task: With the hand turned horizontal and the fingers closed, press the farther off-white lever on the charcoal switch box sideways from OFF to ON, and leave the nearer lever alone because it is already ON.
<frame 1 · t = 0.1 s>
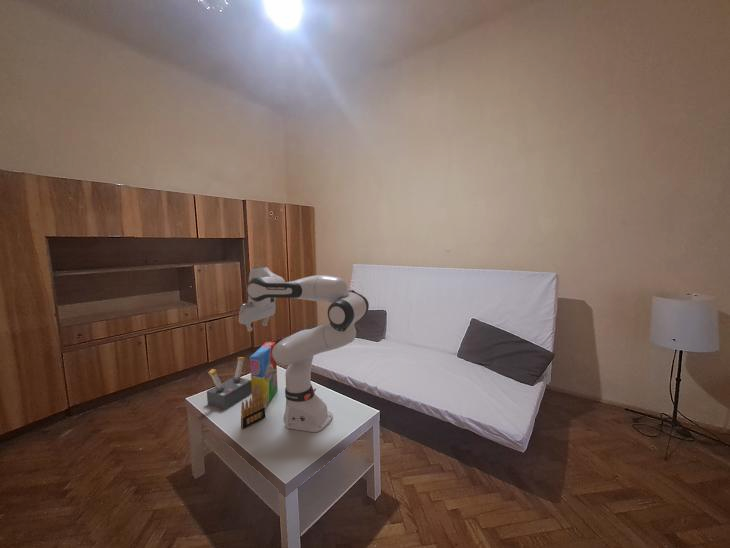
hand: (257, 328, 136), 39 cm above the table, tool pointing down, fingers open, 8 cm apart
lever 1: (216, 380, 139), point 13 cm above the table, hinge at 20.0°
lever 2: (238, 369, 151), point 13 cm above the table, hinge at -20.0°
ammunition clip: (253, 422, 127), on the table
switch box: (230, 398, 147), on the table
game box: (266, 400, 145), on the table
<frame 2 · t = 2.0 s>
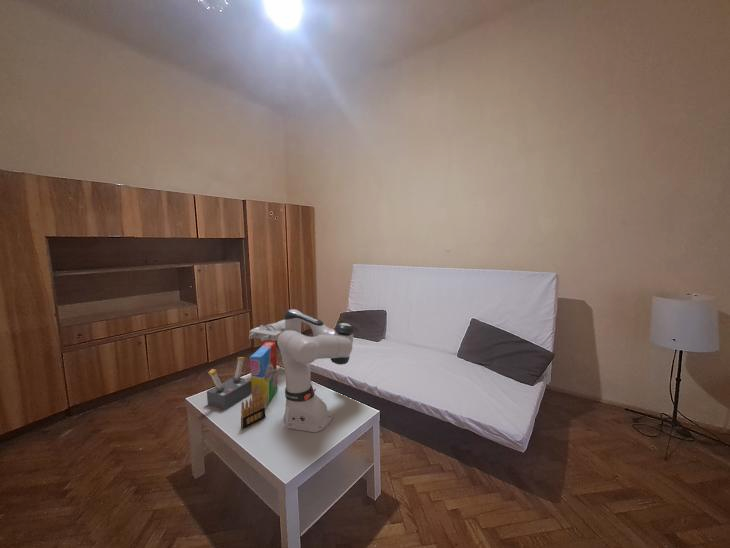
hand: (255, 338, 160), 26 cm above the table, tool horizontal, fingers open, 7 cm apart
nothing on the table moved.
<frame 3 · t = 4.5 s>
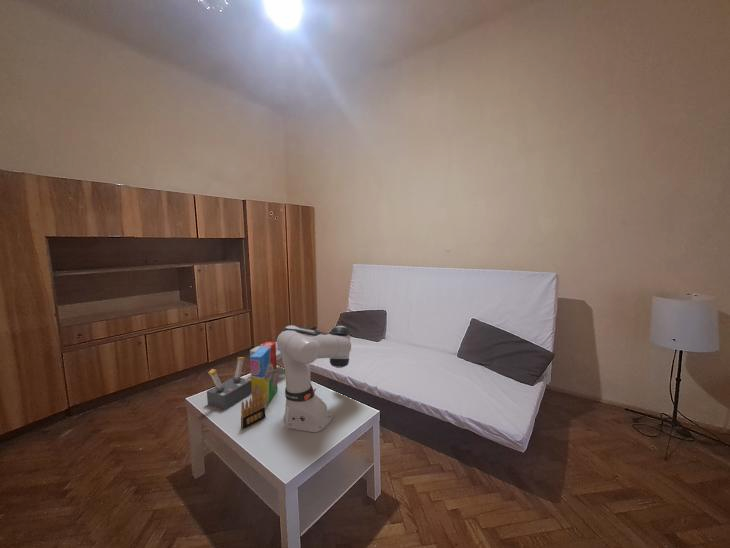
hand: (255, 359, 161), 14 cm above the table, tool horizontal, fingers closed
nothing on the table moved.
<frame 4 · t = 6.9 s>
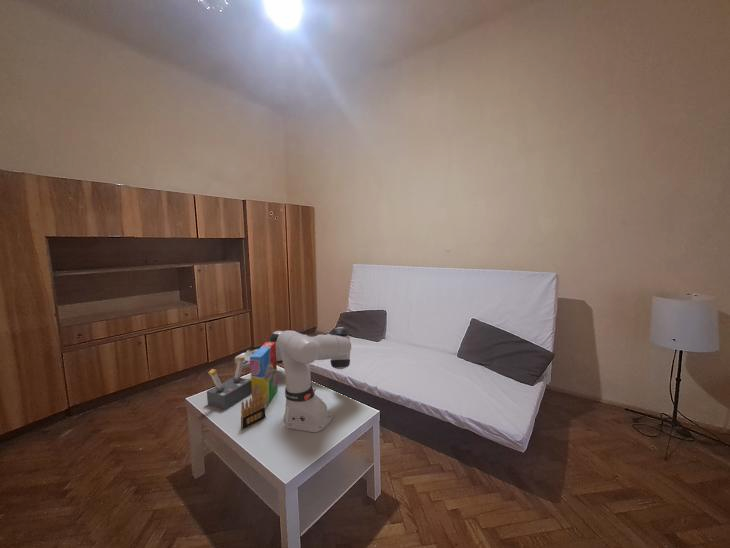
hand: (240, 366, 152), 14 cm above the table, tool horizontal, fingers closed, pressing on lever 2
lever 2: (238, 369, 151), point 13 cm above the table, hinge at -19.4°, touching gripper
everything else where it was.
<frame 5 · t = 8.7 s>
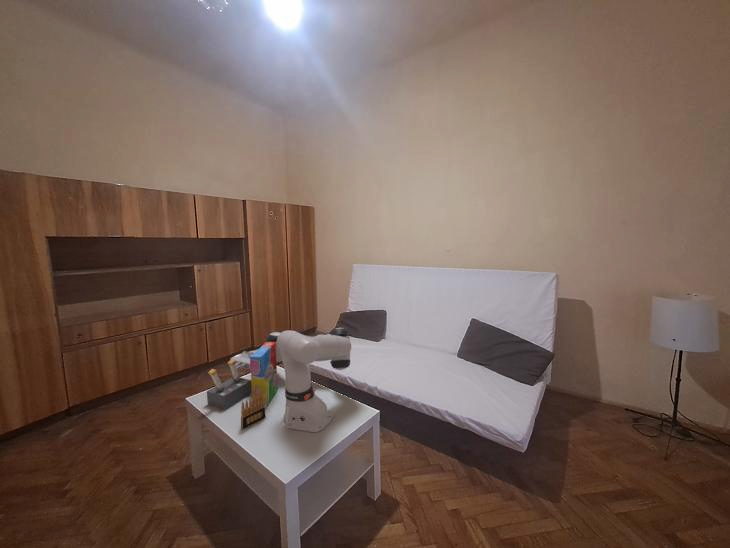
hand: (235, 368, 149), 14 cm above the table, tool horizontal, fingers closed, pressing on lever 2
lever 2: (234, 371, 148), point 13 cm above the table, hinge at 14.3°, touching gripper
everything else where it was.
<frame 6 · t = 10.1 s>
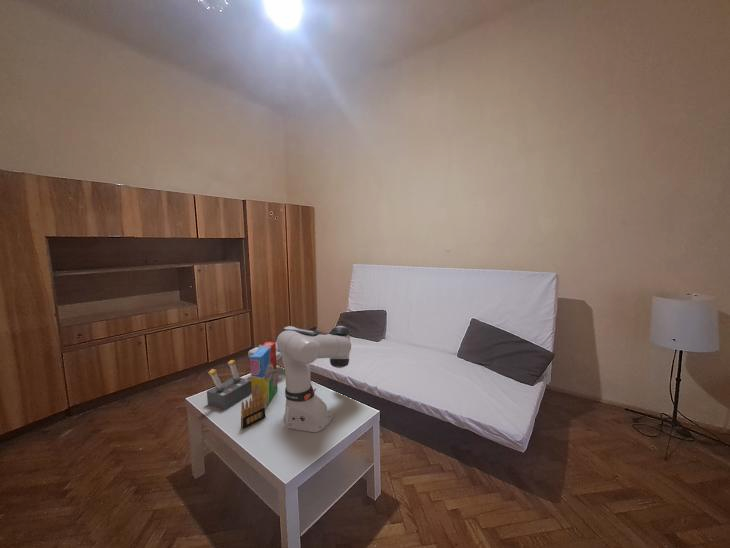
hand: (254, 360, 160), 14 cm above the table, tool horizontal, fingers closed
lever 2: (234, 371, 148), point 13 cm above the table, hinge at 14.4°
everything else where it was.
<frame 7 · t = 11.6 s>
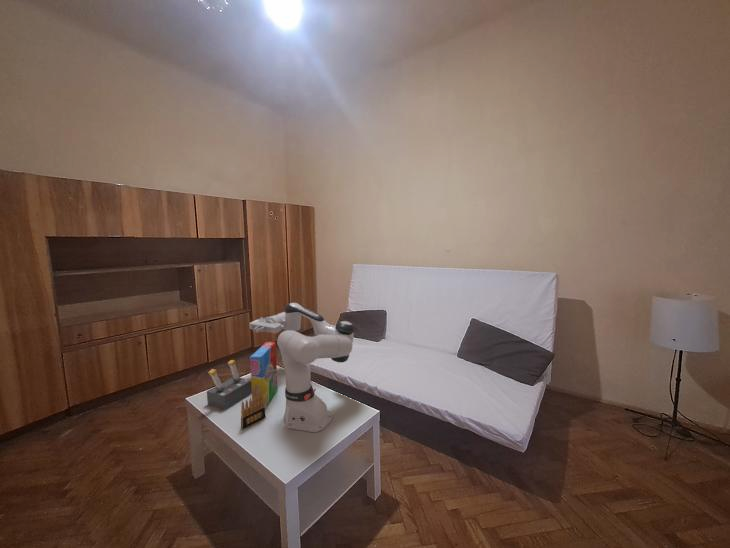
hand: (255, 330, 160), 30 cm above the table, tool horizontal, fingers closed
nothing on the table moved.
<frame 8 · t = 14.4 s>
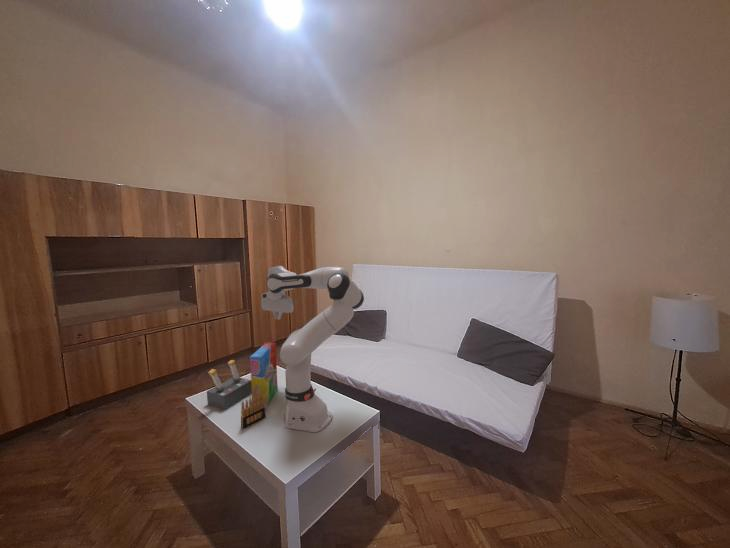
hand: (277, 319, 159), 37 cm above the table, tool pointing down, fingers closed
nothing on the table moved.
at the end: lever 2 at +14° (first picture: -20°); lever 1 at +20° (first picture: +20°) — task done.
